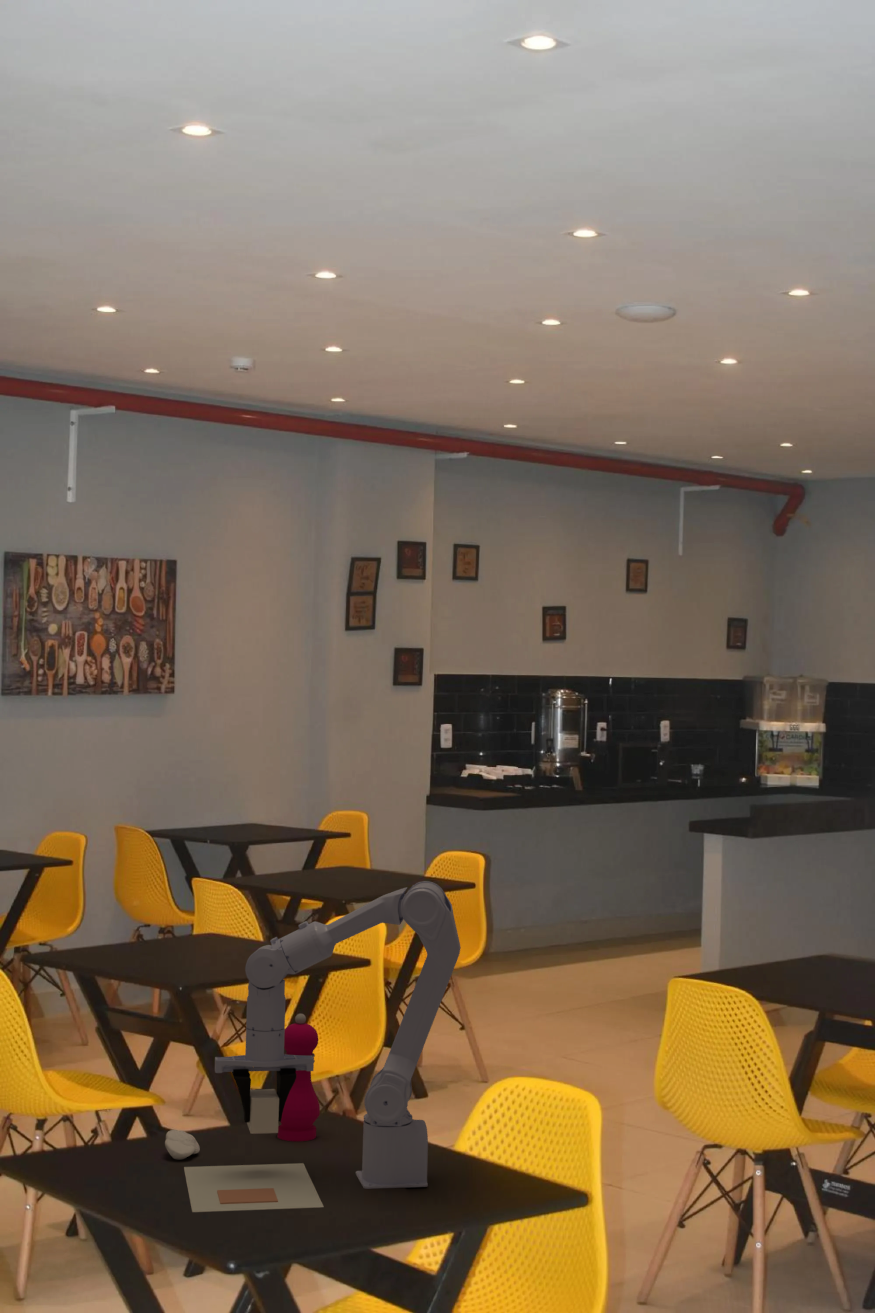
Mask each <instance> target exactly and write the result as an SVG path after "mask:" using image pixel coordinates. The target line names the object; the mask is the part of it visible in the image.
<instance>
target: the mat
mask: <svg viewBox="0 0 875 1313" xmlns="http://www.w3.org/2000/svg"><path fill="white" fill-rule="evenodd" d="M183 1170H184V1176H185V1181H186V1186H187V1191H188V1197H189V1202H190V1206H191V1207H190V1208H191V1212H192V1213H210V1212H232V1211H233V1212H237V1211H262V1210H289V1209H290V1210H291V1209H292V1210H293V1209H312V1208H313V1209H315V1208H316V1209H317V1208H324V1204H323V1202H322V1201H321V1200H322V1199H321V1198H320V1196H319V1194H318V1192H317V1190H316V1187H315V1185H314V1183H313V1181H312V1179H311V1177H310V1174H309V1173H308V1170H307V1168H306V1166H305V1164H304V1162H302V1163H300V1162H299V1163H272V1164H271V1163H270V1164H267V1163H266V1164H265V1163H264V1164H243V1165H241V1164H239V1165H238V1164H237V1165H236V1164H235V1165H210V1166H209V1165H208V1166H207V1165H205V1166H184V1167H183ZM263 1188H274V1191H275V1194H276V1196H277V1199H278V1202H267V1203H240V1204H220V1201H219V1197H218V1193H217V1190H235V1189H263Z"/></svg>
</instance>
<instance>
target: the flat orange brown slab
mask: <svg viewBox="0 0 875 1313" xmlns="http://www.w3.org/2000/svg"><path fill="white" fill-rule="evenodd" d="M217 1193H218V1197H219V1201H220V1204H240V1203H267V1202H278V1199H277V1196H276V1194H275V1191H274V1188H263V1189H235V1190H217Z"/></svg>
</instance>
